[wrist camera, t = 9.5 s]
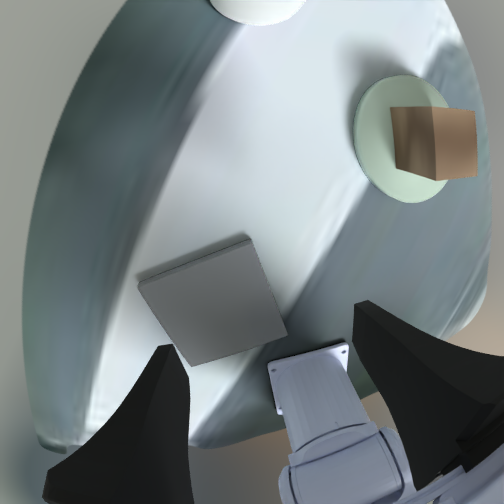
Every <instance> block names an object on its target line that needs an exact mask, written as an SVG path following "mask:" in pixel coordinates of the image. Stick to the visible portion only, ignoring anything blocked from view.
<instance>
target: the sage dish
mask: <svg viewBox="0 0 504 504" xmlns="http://www.w3.org/2000/svg"><path fill="white" fill-rule="evenodd" d="M412 106H433V107H444V108H449V107H448V105H447V103H446V102H445V100H444V99H443V97H442V96H441V95H440V93H439V92H438V91H437V90H436V89H435V88H434V87H433V86H431V85H430V84H429V83H428V82H426V81H424V80H422V79H420V78H418V77H415V76H410V75H397V76H392V77H387V78H384V79H381V80H379V81H377V82H376V83H374V84H373V85H372V86H370V87H369V88H368V90H367V91H366V92H365V93H364V95H363V96H362V98H361V99H360V102H359V104H358V106H357V109H356V113H355V117H354V124H353V138H354V146H355V151H356V155H357V158H358V161H359V163H360V166H361V168H362V170H363V172H364V173H365V175H366V176H367V178H368V179H369V181H370V182H371V183H372V184H373V185H374V186H375V187H376V188H377V189H378V190H380V191H381V192H383V193H384V194H386V195H388V196H391V197H393V198H395V199H397V200H399V201H403V202H407V203H417V202H422V201H425V200H427V199H429V198H431V197H433V196H434V195H435V194H437V193H438V192H439V191H440V190H441V189H442V188H443V186H444V185H445V184H446V182H447V181H448V180H442V181H434V180H431V179H428V178H425V177H422V176H419V175H416V174H413V173H409V172H406V171H403V170H399V169H396V163H395V149H394V138H393V128H392V120H391V112H390V107H412Z"/></svg>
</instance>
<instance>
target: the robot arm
mask: <svg viewBox="0 0 504 504" xmlns="http://www.w3.org/2000/svg"><path fill="white" fill-rule="evenodd" d="M352 342H353V344H354V347H355V349H356V351H357V354H358V356H359V358H360V360H361V362H362V364H363V366H364V367H365V369H366V371H367V372H368V374H369V376H370V377H371V379H372V381H373V382H374V384H375V385H376V387H377V389H378V390H379V392H380V394H381V395H382V397H383V399H384V401H385V402H386V404H387V406H388V408H389V411H390V413H391V415H392V418H393V420H394V422H395V425H396V427H397V429H398V433H399V435H400V437H399V435H398V434H397V433H396V432H395V430H393V429H390V428H387V427H382V428H380V429H379V431H378V429H377V427H376V425H375V422H374V421H372V422H370V420H369V417H368V415H367V413H366V411H365V409H364V407H363V405H362V403H361V401H360V399H359V397H358V395H357V393H356V391H355V389H354V387H353V385H352V383H351V381H350V379H349V377H348V375H347V373H346V371H347V361H348V349H349V346H348V344H347V343H345V342H344V343H340V344H337V345H333V346H330V347H326V348H323V349H319V350H316V351H312V352H308V353H304V354H300V355H296V356H292V357H288V358H284V359H280V360H276V361H271V362H269V363H268V371H269V375H270V380H271V385H272V390H273V394H274V399H275V404H276V409H277V413H278V414H280V415H281V414H283V416H284V420H285V424H286V428H287V432H288V436H289V440H290V444H291V448H292V451H293V454H290V455H288V458H289V462H290V465H288V466H285V467H284V468H283V470H282V472H281V474H280V476H279V491H280V496H281V499H282V502H283V504H427V503H428V502H430V501H432V500H434V501H433V504H504V356H495V355H490V354H485V353H480V352H476V351H472V350H469V349H465V348H462V347H459V346H456V345H453V344H450V343H448V342H445V341H443V340H440V339H438V338H436V337H433V336H431V335H429V334H427V333H425V332H423V331H421V330H419V329H417V328H415V327H413V326H412V325H410V324H408V323H406V322H404V321H403V320H401V319H399V318H397V317H396V316H394V315H392V314H391V313H389V312H387V311H386V310H384V309H382V308H381V307H379V306H377V305H376V304H374V303H372V302H370V301H369V300H366V301H363V302H360V303H356V304H354V321H353V336H352ZM343 350H344V351H343ZM189 415H190V385H189V377H188V375H187V373H186V371H185V369H184V367H183V364H182V362H181V360H180V358H179V356H178V354H177V352H176V350H175V348H174V346H173V344H168V345H161V346H158V347H157V349H156V350H155V352H154V353H153V355H152V357H151V358H150V360H149V362H148V363H147V365H146V367H145V368H144V370H143V372H142V373H141V375H140V376H139V378H138V380H137V381H136V383H135V384H134V386H133V388H132V389H131V391H130V392H129V393H128V395H127V396H126V398H125V399H124V401H123V402H122V403H121V405H120V406H119V408H118V409H117V410H116V411H115V413H114V414H113V415H112V416H111V417H110V419H109V420H108V421H107V422H106V423H105V424H104V425H103V426H102V427H101V428H100V429H99V430H98V431H97V432H96V433H95V434H94V435H93V436H92V437H91V438H90V439H89V440H88V441H87V442H86V443H85V444H84V445H83V446H82V447H80V448H79V449H78V450H77V451H75V452H74V453H73V454H72V455H70V456H69V457H68V458H66V459H65V460H64V461H62V462H60V463H59V464H57V465H56V466H54V467H52V468H51V469H49V470H48V472H47V476H46V481H45V485H44V490H43V495H42V498H43V499H44V500H45V501H46V502H47V503H49V504H194V499H193V493H192V487H191V480H190V471H189V461H188V433H189ZM400 438H401V439H400ZM435 498H436V499H435Z"/></svg>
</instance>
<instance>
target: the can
mask: <svg viewBox="0 0 504 504" xmlns="http://www.w3.org/2000/svg"><path fill="white" fill-rule="evenodd" d="M210 2H211V3H212V5H213V6H214V7H215V9H216V10H217V11H219V12H220V13H221V14H222V15H224V16H225V17H227V18H229V19H231V20H234V21H236V22H239V23H243V24H248V25H271V24H276V23H279V22H282V21H285V20H287V19H288V18H290V17H291V16H293V15H294V14H295V13H296V12H297V11H298V10H299V9H300V8H301V6H302V5H303V4H304V3H305V2H306V0H210Z"/></svg>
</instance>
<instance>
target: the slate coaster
mask: <svg viewBox="0 0 504 504" xmlns="http://www.w3.org/2000/svg"><path fill="white" fill-rule="evenodd" d="M137 288H138V290H139V291H140V293H141V294H142V296H143V298H144V299H145V301H146V302H147V304H148V306H149V307H150V309H151V310H152V312H153V313H154V315H155V316H156V318H157V319H158V321H159V322H160V324H161V325H162V327H163V328H164V330H165V331H166V333H167V334H168V336H169V337H170V338H171V340H172V341H173V343H174V344H175V345H176V347H177V348H178V350H179V351H180V352H181V354H182V355H183V356H184V358H185V359H186V361H187V362H188V363H189V365H190V366H191V367H193V366H197V365H200V364H204V363H207V362H210V361H214V360H217V359H220V358H224V357H227V356H230V355H233V354H236V353H239V352H242V351H245V350H248V349H251V348H254V347H257V346H260V345H263V344H266V343H269V342H271V341H274V340H277V339H280V338H282V337H285V336H288V333H287V330H286V328H285V325H284V323H283V320H282V317H281V315H280V312H279V310H278V307H277V304H276V302H275V299H274V297H273V294H272V292H271V289H270V286H269V284H268V281H267V279H266V276H265V273H264V271H263V268H262V266H261V263H260V261H259V258H258V255H257V253H256V250H255V248H254V245H253V243H252V240H251V239H249V240H246V241H243V242H241V243H238V244H236V245H233V246H230V247H228V248H225V249H223V250H220V251H218V252H215V253H212V254H210V255H207V256H205V257H202V258H200V259H197V260H194V261H192V262H189V263H187V264H184V265H182V266H179V267H177V268H174V269H171V270H169V271H166V272H164V273H161V274H159V275H156V276H154V277H151V278H149V279H146V280H144V281H141V282H139V285H138V287H137Z"/></svg>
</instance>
